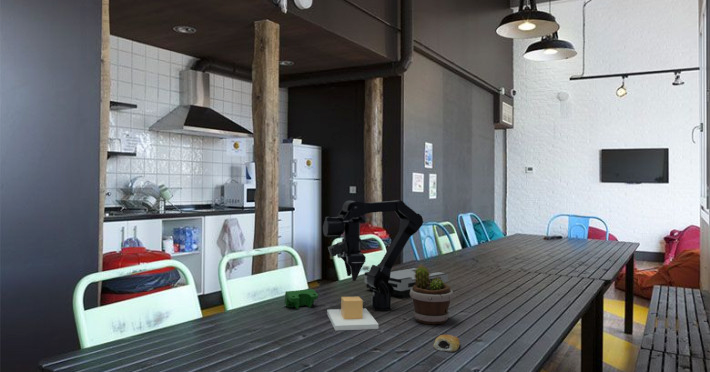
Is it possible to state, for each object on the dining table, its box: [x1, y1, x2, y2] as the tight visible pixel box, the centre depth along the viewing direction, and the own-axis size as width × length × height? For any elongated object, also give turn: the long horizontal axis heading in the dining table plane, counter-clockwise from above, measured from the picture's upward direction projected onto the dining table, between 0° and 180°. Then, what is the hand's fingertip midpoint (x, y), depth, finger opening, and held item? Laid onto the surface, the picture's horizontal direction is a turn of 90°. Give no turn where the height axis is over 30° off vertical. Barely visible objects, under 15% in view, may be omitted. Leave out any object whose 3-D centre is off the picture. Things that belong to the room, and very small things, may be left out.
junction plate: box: [326, 308, 379, 332], centre depth 168 cm, size 14×20×6 cm
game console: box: [364, 267, 449, 299], centre depth 219 cm, size 21×32×8 cm, turn 134°
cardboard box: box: [340, 295, 364, 319], centre depth 168 cm, size 6×6×6 cm
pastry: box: [432, 334, 461, 353], centre depth 143 cm, size 9×7×4 cm
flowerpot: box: [409, 262, 454, 325], centre depth 170 cm, size 14×15×20 cm
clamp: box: [283, 288, 319, 310], centre depth 186 cm, size 12×6×9 cm, turn 112°
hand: (351, 278), depth 181 cm, fingers open, 9 cm apart
